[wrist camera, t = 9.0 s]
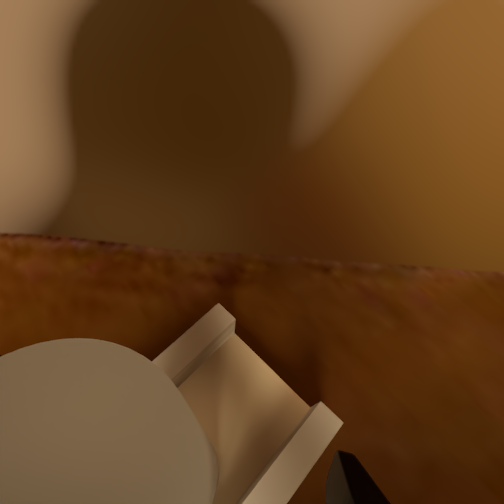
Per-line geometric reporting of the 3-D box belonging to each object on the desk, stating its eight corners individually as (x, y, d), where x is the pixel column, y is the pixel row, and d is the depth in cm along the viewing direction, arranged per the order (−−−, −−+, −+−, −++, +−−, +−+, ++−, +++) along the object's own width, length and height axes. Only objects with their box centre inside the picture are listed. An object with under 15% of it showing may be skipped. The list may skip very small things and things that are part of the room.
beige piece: (169, 554, 12) (-107, 1022, 2) (114, 475, 14) (-236, 516, 3) (236, 472, 14) (273, 497, 4) (182, 408, 15) (91, 288, 5)
